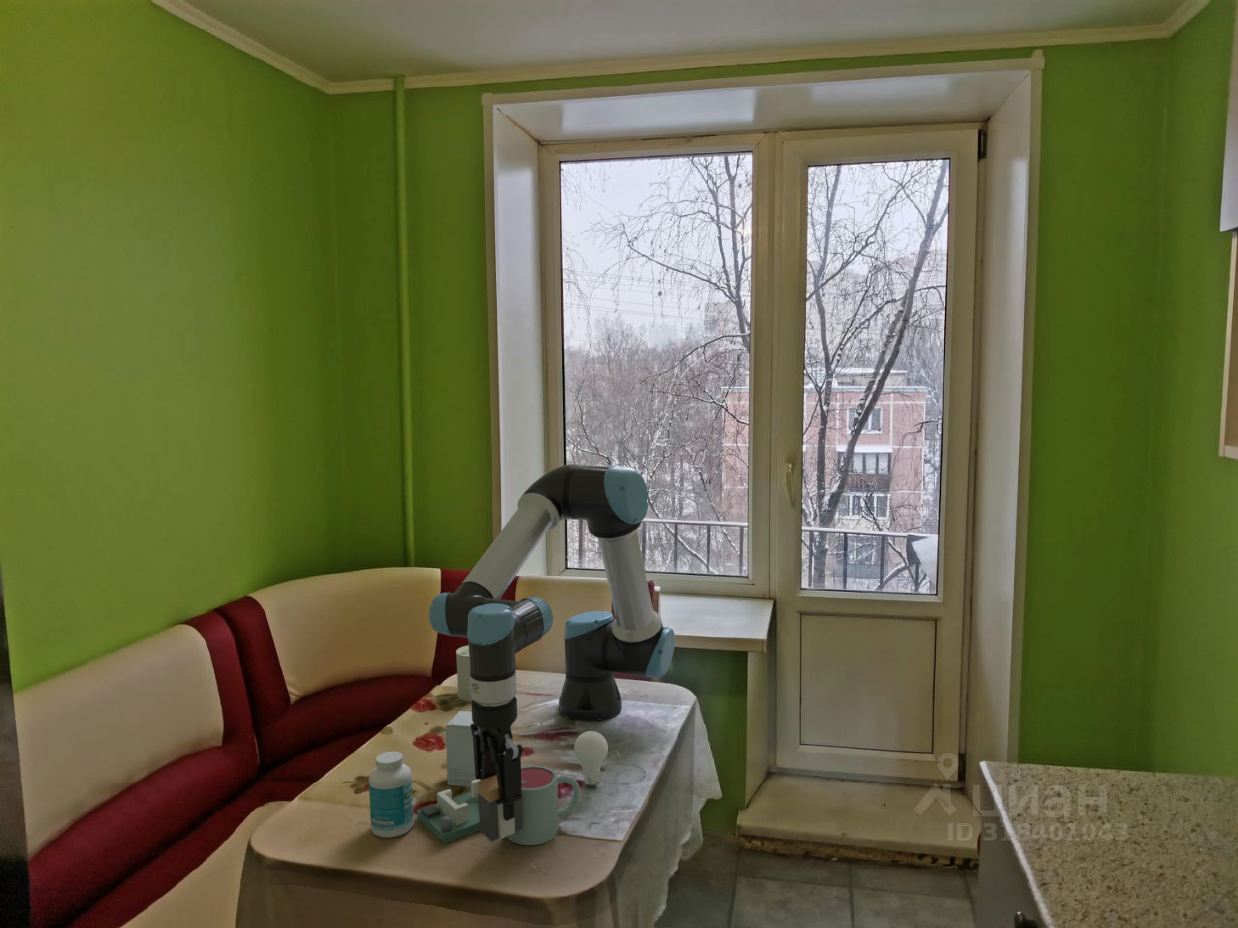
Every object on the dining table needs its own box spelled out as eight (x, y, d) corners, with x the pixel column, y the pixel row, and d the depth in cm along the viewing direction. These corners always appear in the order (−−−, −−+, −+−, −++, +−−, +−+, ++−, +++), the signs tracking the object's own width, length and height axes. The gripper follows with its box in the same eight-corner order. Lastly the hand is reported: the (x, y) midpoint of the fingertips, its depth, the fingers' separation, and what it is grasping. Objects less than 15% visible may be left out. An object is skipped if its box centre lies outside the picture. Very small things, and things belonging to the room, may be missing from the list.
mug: (514, 849, 146) (513, 793, 145) (500, 823, 155) (499, 770, 154) (589, 833, 151) (589, 779, 150) (571, 808, 160) (571, 757, 159)
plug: (510, 818, 149) (508, 770, 148) (522, 828, 146) (520, 779, 145) (480, 831, 146) (477, 781, 144) (491, 841, 142) (489, 791, 141)
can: (450, 694, 217) (448, 648, 215) (480, 684, 223) (479, 639, 221) (470, 704, 210) (468, 657, 208) (501, 694, 216) (499, 648, 215)
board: (484, 793, 166) (484, 771, 165) (513, 817, 157) (513, 793, 157) (417, 817, 157) (416, 794, 157) (444, 843, 149) (443, 819, 148)
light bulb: (613, 780, 170) (612, 727, 169) (601, 796, 164) (600, 741, 163) (582, 775, 173) (581, 723, 171) (569, 791, 166) (568, 737, 165)
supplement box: (482, 788, 168) (479, 727, 166) (446, 785, 169) (444, 724, 168) (494, 771, 175) (492, 711, 174) (460, 768, 177) (458, 709, 175)
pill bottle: (414, 835, 151) (411, 763, 150) (371, 843, 149) (367, 769, 148) (412, 814, 158) (409, 745, 157) (371, 821, 156) (367, 751, 155)
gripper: (450, 688, 147) (456, 815, 150) (499, 721, 133) (506, 859, 137) (488, 677, 151) (494, 800, 155) (540, 708, 138) (545, 842, 141)
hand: (499, 828), depth 146 cm, fingers closed on plug, 4 cm apart
